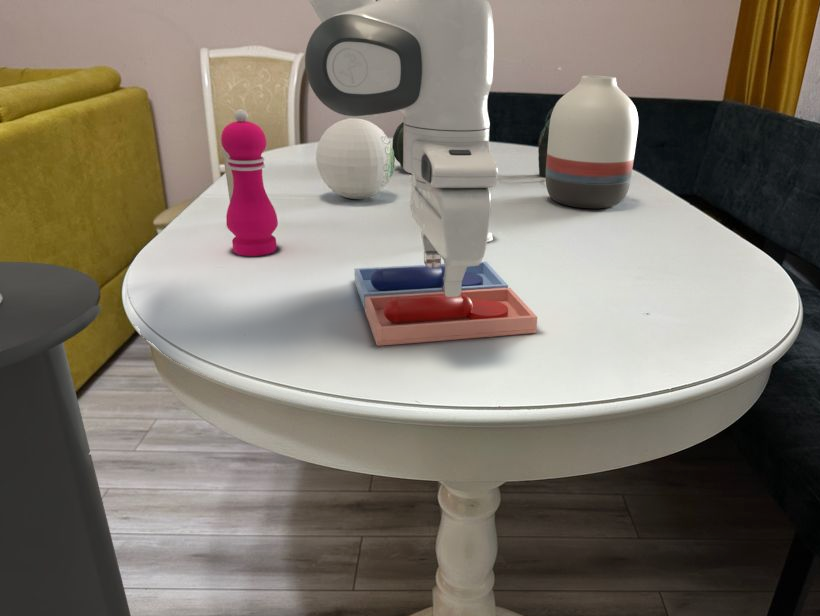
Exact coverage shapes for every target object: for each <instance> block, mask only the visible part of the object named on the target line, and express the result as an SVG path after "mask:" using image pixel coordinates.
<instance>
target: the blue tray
mask: <svg viewBox="0 0 820 616" xmlns="http://www.w3.org/2000/svg"><path fill="white" fill-rule="evenodd" d="M441 266H444V263H441ZM407 267H426V265H425V264H413V265H395V266H375V267H373V266H372V267H359V268H354V272H353V273H354V285H355V287H356V290H357V293H358V296H359V299H360V301H361V304H362V307H363V310H364V311H365V297H370V296H385V295H401V294H417V293H433V292H443V291H442V287H439V288H423V289H407V290H391V291H379V290H377V289H375V288H374V287H373V286H372V284H371V276H372V274H373V273H374V272H375V271H376V270H378V269H388V268H407ZM444 267H445V266H444ZM465 272H469V273H474V274H477V275H480V276H481V277H482V278H483V285H480V286H463V287H461V291H464V290H480V289H496V288H509V284H507V282H506V281H505V280H504V279H503V278H502V277H501V275H499V273H497V271H496V270H494V268H493V267H492V266H491V265H490V263H488V262H487V261H481V263H480V265H478V266H468V267H467V269H466V271H465Z"/></svg>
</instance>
